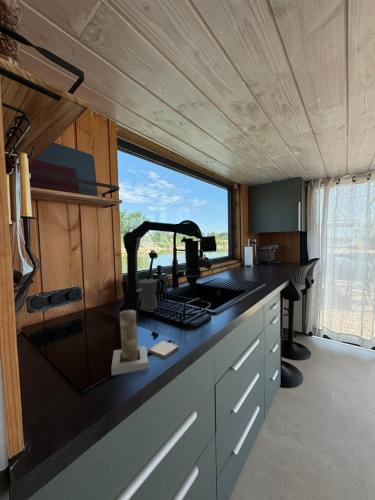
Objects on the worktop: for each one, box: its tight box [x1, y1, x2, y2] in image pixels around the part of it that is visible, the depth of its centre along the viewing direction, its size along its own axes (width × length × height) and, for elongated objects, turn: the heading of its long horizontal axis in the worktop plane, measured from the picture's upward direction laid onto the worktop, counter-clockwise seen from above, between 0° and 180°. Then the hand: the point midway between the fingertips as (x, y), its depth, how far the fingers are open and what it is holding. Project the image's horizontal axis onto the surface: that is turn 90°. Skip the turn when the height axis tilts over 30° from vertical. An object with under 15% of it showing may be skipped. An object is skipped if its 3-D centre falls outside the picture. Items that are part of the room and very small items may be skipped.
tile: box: [148, 340, 179, 359], centre depth 74 cm, size 7×7×1 cm
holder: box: [110, 345, 149, 376], centre depth 67 cm, size 10×10×2 cm
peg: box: [119, 310, 139, 363], centre depth 67 cm, size 5×5×16 cm
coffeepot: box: [138, 275, 166, 310], centre depth 113 cm, size 15×9×18 cm, turn 112°
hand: (193, 288), depth 95 cm, fingers open, 9 cm apart
